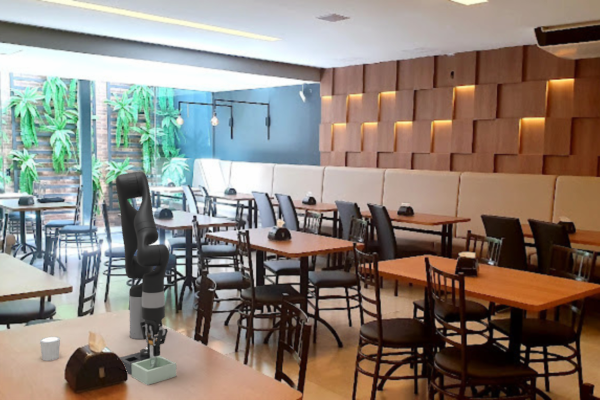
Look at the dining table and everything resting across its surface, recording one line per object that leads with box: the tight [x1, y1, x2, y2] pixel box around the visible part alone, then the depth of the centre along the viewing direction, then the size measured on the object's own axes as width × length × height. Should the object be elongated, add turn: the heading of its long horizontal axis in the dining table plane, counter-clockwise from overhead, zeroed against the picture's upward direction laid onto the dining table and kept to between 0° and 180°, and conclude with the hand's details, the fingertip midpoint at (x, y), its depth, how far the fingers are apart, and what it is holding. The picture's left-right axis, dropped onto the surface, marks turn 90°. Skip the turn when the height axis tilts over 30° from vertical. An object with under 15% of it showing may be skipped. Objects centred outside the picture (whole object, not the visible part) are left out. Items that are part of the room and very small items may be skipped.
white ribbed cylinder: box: [39, 336, 61, 362], centre depth 209 cm, size 7×7×7 cm
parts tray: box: [131, 355, 177, 386], centre depth 193 cm, size 11×10×4 cm
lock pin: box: [149, 338, 157, 368], centre depth 193 cm, size 3×3×9 cm
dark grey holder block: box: [118, 346, 161, 376], centre depth 202 cm, size 12×9×6 cm
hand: (153, 354), depth 193 cm, fingers closed on lock pin, 3 cm apart
